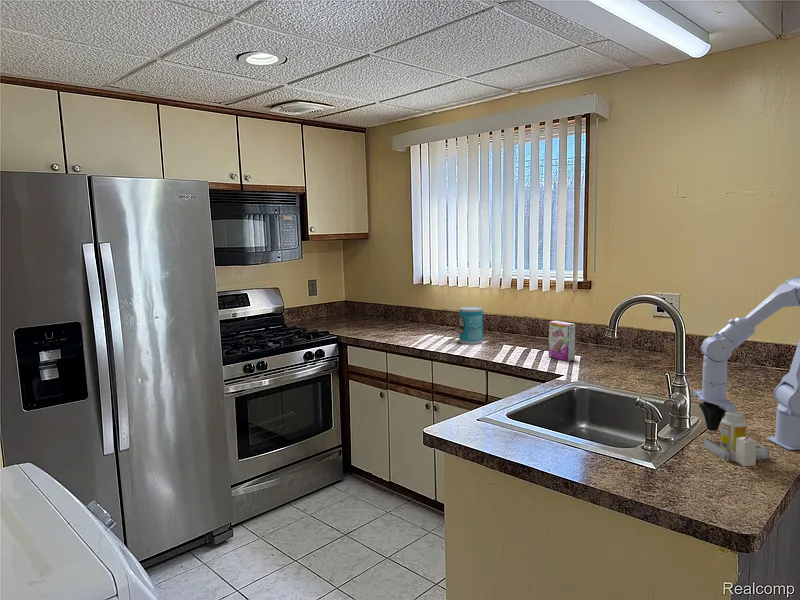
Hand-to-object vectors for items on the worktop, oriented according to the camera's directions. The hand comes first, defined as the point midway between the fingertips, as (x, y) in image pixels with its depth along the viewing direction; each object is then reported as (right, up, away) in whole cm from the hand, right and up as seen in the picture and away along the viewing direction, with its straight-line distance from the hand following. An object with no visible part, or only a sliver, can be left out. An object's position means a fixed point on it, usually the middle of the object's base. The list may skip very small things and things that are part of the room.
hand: (712, 429), depth 149 cm
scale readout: (-1, -5, -15) cm, 16 cm away
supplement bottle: (+1, -4, -8) cm, 9 cm away
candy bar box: (-13, +9, +94) cm, 96 cm away
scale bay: (+1, -4, -9) cm, 10 cm away
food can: (-48, +13, +134) cm, 143 cm away
